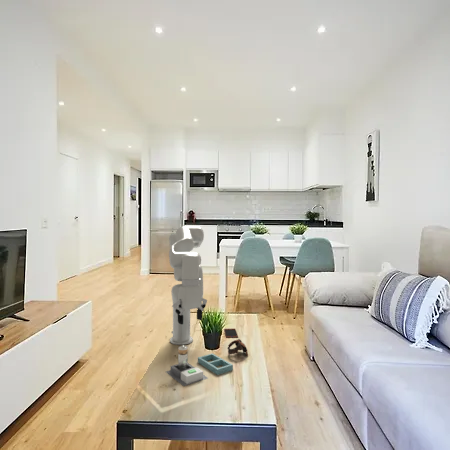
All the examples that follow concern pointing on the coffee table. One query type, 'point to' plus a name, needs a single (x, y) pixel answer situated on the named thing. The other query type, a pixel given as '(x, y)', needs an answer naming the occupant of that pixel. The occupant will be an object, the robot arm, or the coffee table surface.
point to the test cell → (182, 358)
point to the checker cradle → (186, 374)
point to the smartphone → (230, 333)
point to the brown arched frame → (237, 347)
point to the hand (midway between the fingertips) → (190, 321)
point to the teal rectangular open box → (215, 364)
